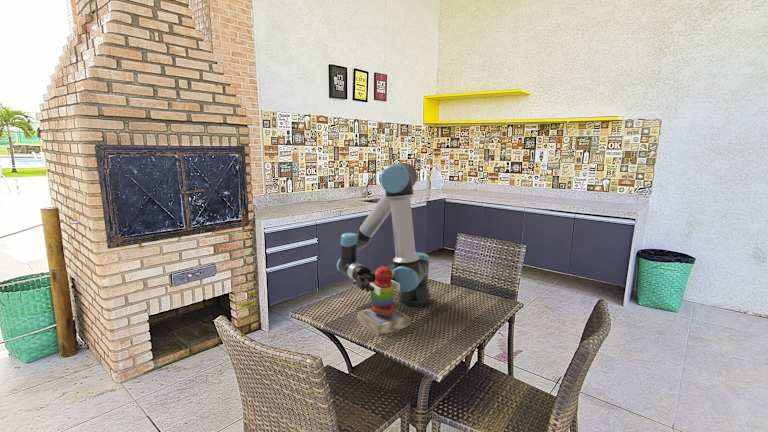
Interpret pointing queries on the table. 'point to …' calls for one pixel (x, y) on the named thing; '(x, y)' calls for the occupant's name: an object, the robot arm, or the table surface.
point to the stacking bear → (383, 293)
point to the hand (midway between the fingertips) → (389, 289)
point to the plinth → (382, 321)
